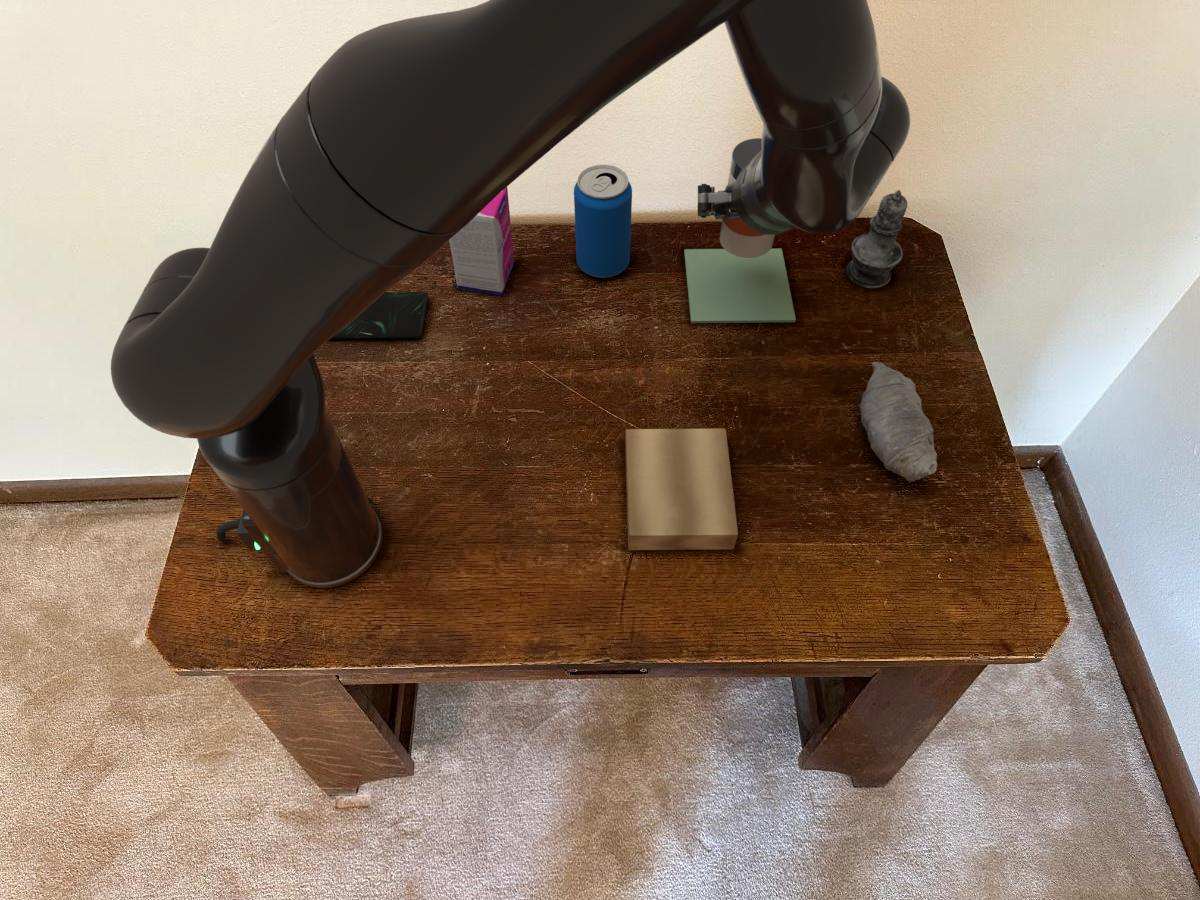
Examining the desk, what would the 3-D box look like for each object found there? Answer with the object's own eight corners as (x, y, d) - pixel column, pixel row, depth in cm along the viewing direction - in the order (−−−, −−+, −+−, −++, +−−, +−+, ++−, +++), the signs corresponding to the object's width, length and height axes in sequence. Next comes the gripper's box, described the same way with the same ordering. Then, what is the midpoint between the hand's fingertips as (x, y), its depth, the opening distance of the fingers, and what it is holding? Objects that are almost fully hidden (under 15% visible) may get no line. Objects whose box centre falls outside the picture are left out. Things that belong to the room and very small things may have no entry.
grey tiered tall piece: (835, 261, 97) (861, 178, 87) (878, 251, 98) (909, 168, 88) (858, 294, 94) (888, 212, 84) (902, 284, 95) (937, 201, 85)
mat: (690, 323, 91) (691, 320, 91) (684, 251, 98) (684, 249, 98) (795, 322, 91) (796, 320, 91) (781, 250, 98) (781, 248, 98)
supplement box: (504, 296, 94) (493, 218, 84) (456, 289, 95) (440, 211, 85) (517, 262, 97) (507, 184, 88) (470, 256, 98) (456, 177, 88)
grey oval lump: (909, 360, 84) (925, 336, 77) (931, 486, 82) (950, 474, 74) (847, 368, 85) (857, 345, 78) (867, 493, 83) (879, 482, 75)
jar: (716, 222, 91) (722, 258, 87) (728, 138, 82) (735, 175, 78) (769, 221, 91) (777, 257, 87) (787, 137, 82) (797, 174, 78)
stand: (628, 550, 75) (629, 535, 73) (624, 445, 82) (625, 428, 79) (734, 549, 75) (738, 534, 73) (722, 445, 82) (725, 427, 79)
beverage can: (639, 257, 98) (643, 174, 88) (611, 289, 95) (612, 207, 85) (594, 238, 100) (593, 155, 90) (566, 269, 96) (561, 186, 87)
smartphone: (300, 292, 93) (428, 290, 93) (303, 298, 94) (429, 296, 94) (287, 336, 89) (420, 334, 89) (290, 342, 90) (422, 340, 90)
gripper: (702, 232, 72) (683, 244, 88) (861, 230, 72) (813, 243, 88) (703, 144, 70) (683, 174, 87) (865, 142, 70) (815, 172, 87)
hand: (749, 208), depth 88 cm, fingers closed on jar, 6 cm apart
